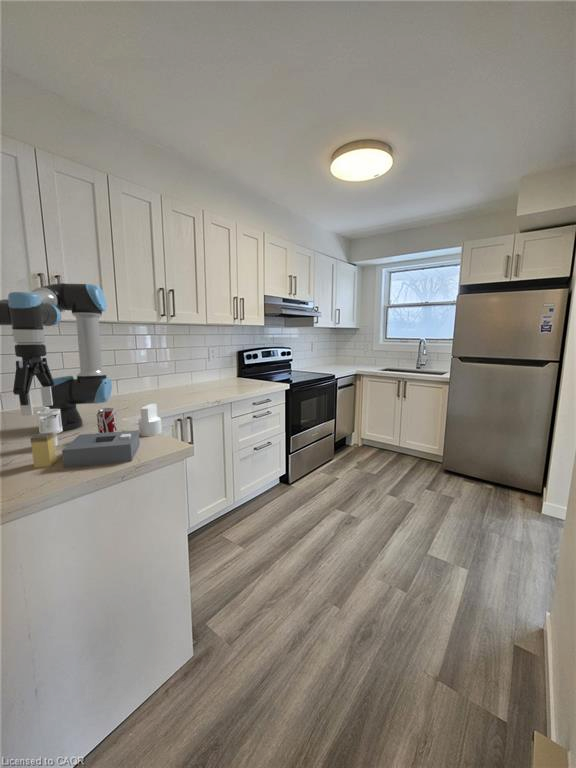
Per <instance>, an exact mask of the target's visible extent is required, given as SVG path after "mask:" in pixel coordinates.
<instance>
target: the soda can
mask: <svg viewBox="0 0 576 768" xmlns="http://www.w3.org/2000/svg"><path fill="white" fill-rule="evenodd" d="M96 419H97V421H96V422H97V430H98V433H108V432H118V423H117V413H116V412H115V410H114V408H113V407H105V408H100V409H98V410H97V414H96Z"/></svg>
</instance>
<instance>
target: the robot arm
mask: <svg viewBox="0 0 576 768" xmlns="http://www.w3.org/2000/svg"><path fill="white" fill-rule="evenodd" d="M7 297H8V298H5V299H0V326H11V329H12V333H11V336H12V337H13V338H12V339H13V342H14V343H16V344H15V345H14V353H15V354H14V355H15V357H18V358H22V359H21V360H16V361H15V373H14V375H15V376H14V381H13V382H14V383H13V388H12V389H13V390H12V392H13V394H14V396H16V395H17V396H18V399H19V407H20V408H19V409H20V414H21V417H23V416H24V417H25V416H33V415H34V408H33V402H32V401H33V400H32V394H31V393H30V389H31V386H32V382H33V378H34V376H36V378H37V380H38V382H39V384H40V394H41V402H42V403H41V404H42V407H49V408H50V409H60V412H61V421H62V429H63V431H64V432H65V431H69V430H73V429H77V428H79V427H81V426H83V425H84V423H83V418H82V416H81V415H80V413H79V411H78V409H77V405H88V404H90V405H91V404H96V405H97V404H105V403H107V402H108V401H109V399H110V398H111V396H112V390H113V383H112V380H111V378H109V377H107V373H106V372H104V371H103V361H102V350H101V349H102V348H101V336H100V335H101V333H100V324H99V323H100V321H99V320H100V318H101V317H102V316H103V312H105V311H107V299H106V297H105V294H104V292H103V290H102V288H100V286H99V285H96V284H91V283H64V282H63V283H60V282H59V283H52V284H47V285H44V286H40V287H36V288H34V289H33V290H32V291H31V292H28V291H27V292H24V291H12V292H9V293H8V296H7ZM61 311H71V316H73V317H75V319H76V320H75V321H76V331H77V333H76V334H77V343H78V344H77V345H78V359H79V373H77V375H76V378H74V376H73V375H66V376H64V375H63V376H58V377H53V376H52V372H51V370H50V368H49V365H48V360H47V358H46V356H47V349H46V348H47V346H46V345H45V344H44V343H46V337H45V330H44V327H52V326H56V325H58V324H59V323H60V321H61V320H62V313H61ZM49 413H50V412H49ZM57 415H58V414H56V415H51V417H52V416H54V417H56V416H57ZM47 418H50V417H47ZM43 420H45V419H43ZM43 422H44V421H43ZM63 431H62V432H63Z"/></svg>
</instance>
